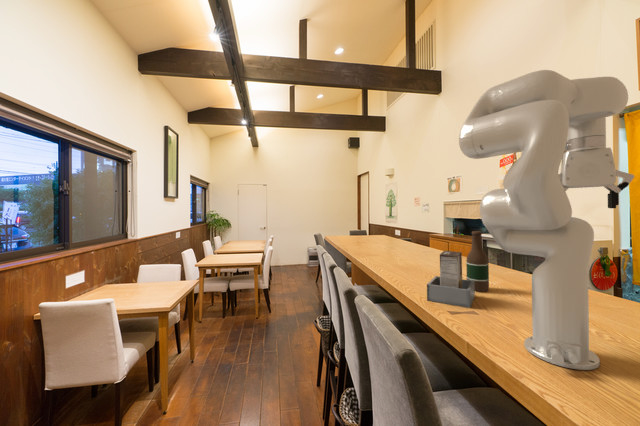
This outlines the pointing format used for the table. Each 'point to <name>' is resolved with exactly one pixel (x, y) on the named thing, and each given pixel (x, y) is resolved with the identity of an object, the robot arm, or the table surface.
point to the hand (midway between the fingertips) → (586, 208)
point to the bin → (451, 293)
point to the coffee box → (451, 269)
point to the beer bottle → (478, 264)
